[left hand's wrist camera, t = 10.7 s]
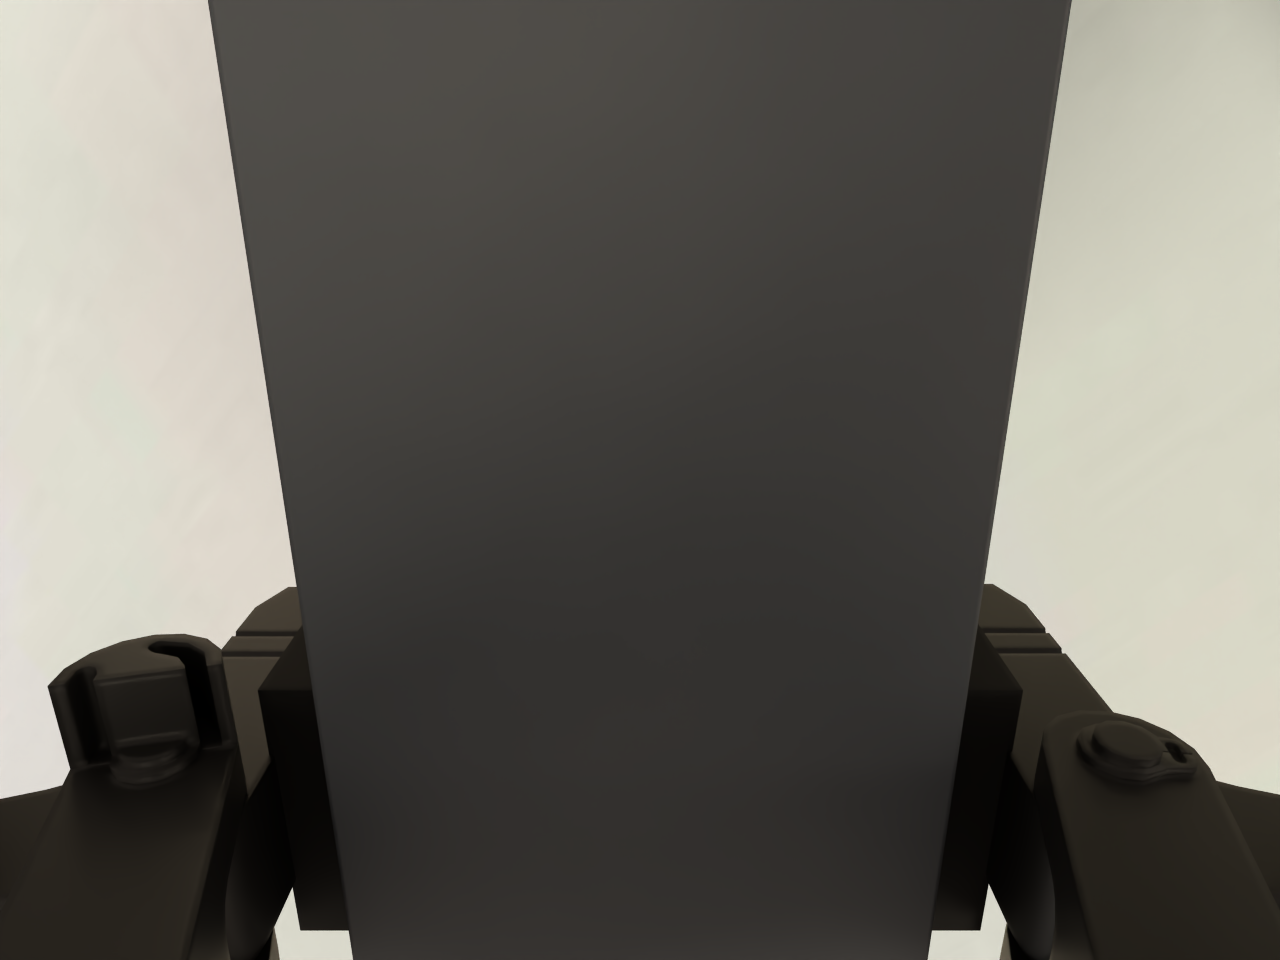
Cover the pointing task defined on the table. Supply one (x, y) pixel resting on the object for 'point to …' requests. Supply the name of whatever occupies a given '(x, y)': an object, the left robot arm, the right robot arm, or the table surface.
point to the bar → (640, 447)
